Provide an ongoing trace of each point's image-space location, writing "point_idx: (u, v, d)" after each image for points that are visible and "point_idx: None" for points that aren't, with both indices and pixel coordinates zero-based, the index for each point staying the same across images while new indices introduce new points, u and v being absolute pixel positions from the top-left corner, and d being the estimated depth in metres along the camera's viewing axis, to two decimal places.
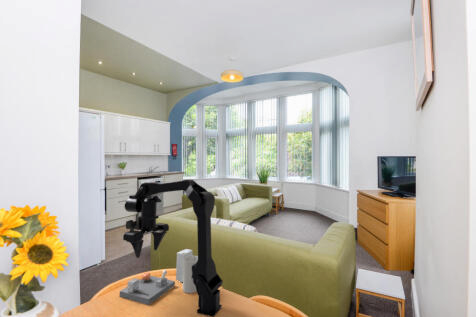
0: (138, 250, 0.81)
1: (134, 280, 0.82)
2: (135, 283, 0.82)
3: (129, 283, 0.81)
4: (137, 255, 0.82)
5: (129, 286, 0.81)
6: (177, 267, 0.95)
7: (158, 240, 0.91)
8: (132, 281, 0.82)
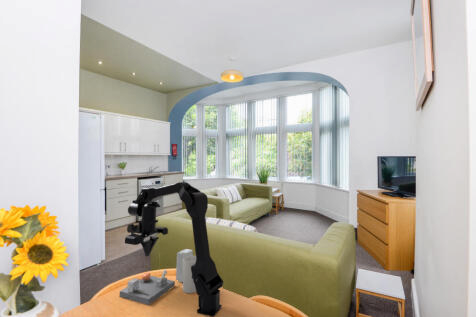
0: (147, 249, 0.90)
1: (134, 280, 0.82)
2: (135, 283, 0.82)
3: (129, 283, 0.81)
4: (146, 254, 0.90)
5: (129, 286, 0.81)
6: (177, 267, 0.95)
7: None
8: (132, 281, 0.82)
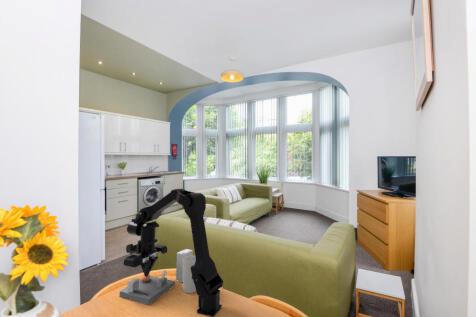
0: (146, 270, 0.89)
1: (134, 280, 0.82)
2: (135, 283, 0.82)
3: (129, 283, 0.81)
4: (145, 274, 0.90)
5: (129, 286, 0.81)
6: (177, 267, 0.95)
7: None
8: (132, 281, 0.82)
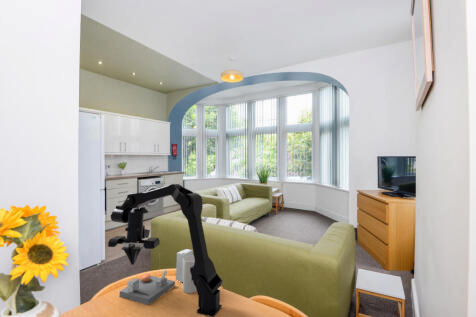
0: None
1: (134, 280, 0.82)
2: (135, 283, 0.82)
3: (129, 283, 0.81)
4: None
5: (129, 286, 0.81)
6: (177, 267, 0.95)
7: None
8: (132, 281, 0.82)
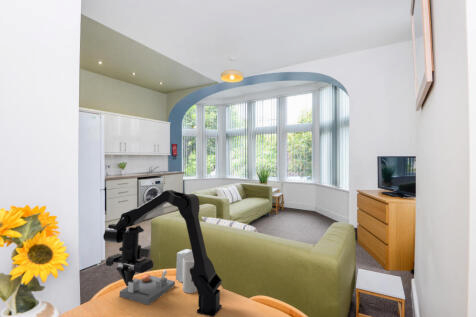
0: None
1: (134, 280, 0.82)
2: (136, 283, 0.82)
3: (130, 283, 0.81)
4: None
5: (130, 286, 0.81)
6: (177, 267, 0.95)
7: None
8: (133, 281, 0.82)
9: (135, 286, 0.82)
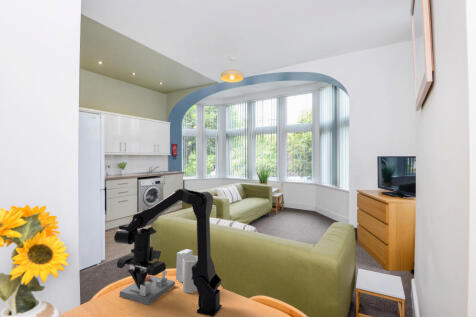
0: None
1: (146, 283, 0.80)
2: (148, 286, 0.80)
3: (141, 286, 0.79)
4: None
5: (141, 289, 0.79)
6: (177, 267, 0.95)
7: None
8: (144, 284, 0.80)
9: (147, 289, 0.79)
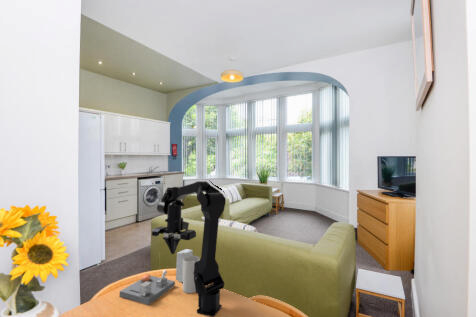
0: None
1: (146, 283, 0.80)
2: (148, 286, 0.80)
3: (141, 286, 0.79)
4: None
5: (141, 289, 0.79)
6: (177, 267, 0.95)
7: None
8: (144, 284, 0.80)
9: (147, 289, 0.79)
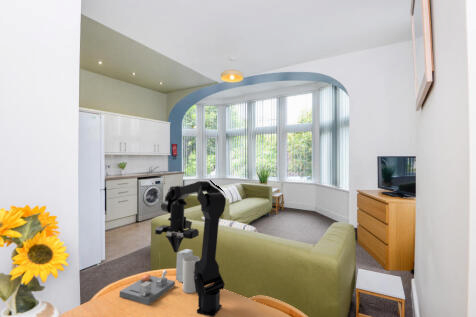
0: None
1: (146, 283, 0.80)
2: (148, 286, 0.80)
3: (141, 286, 0.79)
4: None
5: (141, 289, 0.79)
6: (177, 267, 0.95)
7: None
8: (144, 284, 0.80)
9: (147, 289, 0.79)
